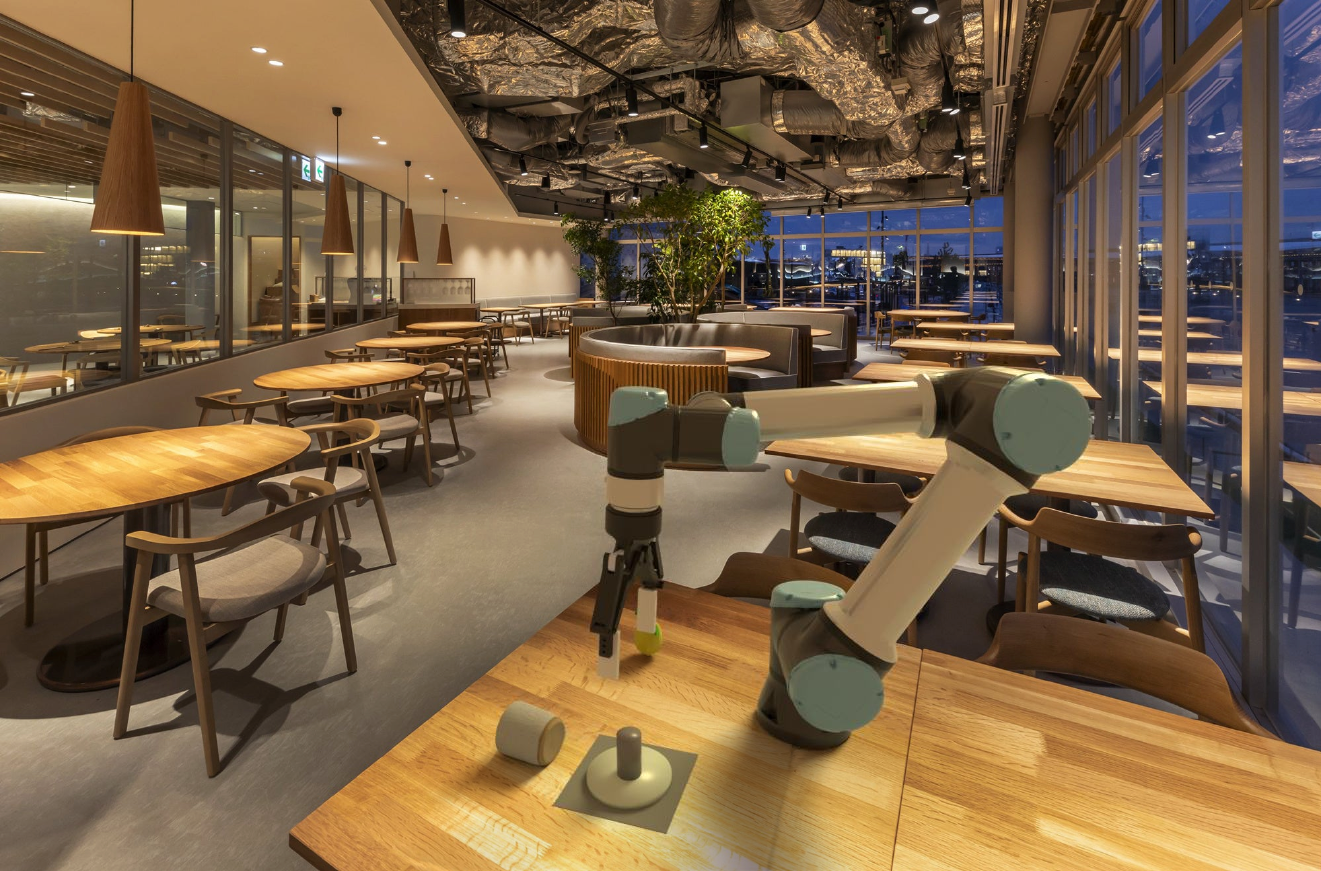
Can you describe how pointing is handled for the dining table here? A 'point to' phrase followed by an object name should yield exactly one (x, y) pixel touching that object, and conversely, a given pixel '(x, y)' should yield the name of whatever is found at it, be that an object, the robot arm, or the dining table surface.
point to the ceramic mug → (530, 733)
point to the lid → (629, 773)
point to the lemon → (648, 640)
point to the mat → (647, 817)
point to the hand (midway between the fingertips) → (628, 652)
